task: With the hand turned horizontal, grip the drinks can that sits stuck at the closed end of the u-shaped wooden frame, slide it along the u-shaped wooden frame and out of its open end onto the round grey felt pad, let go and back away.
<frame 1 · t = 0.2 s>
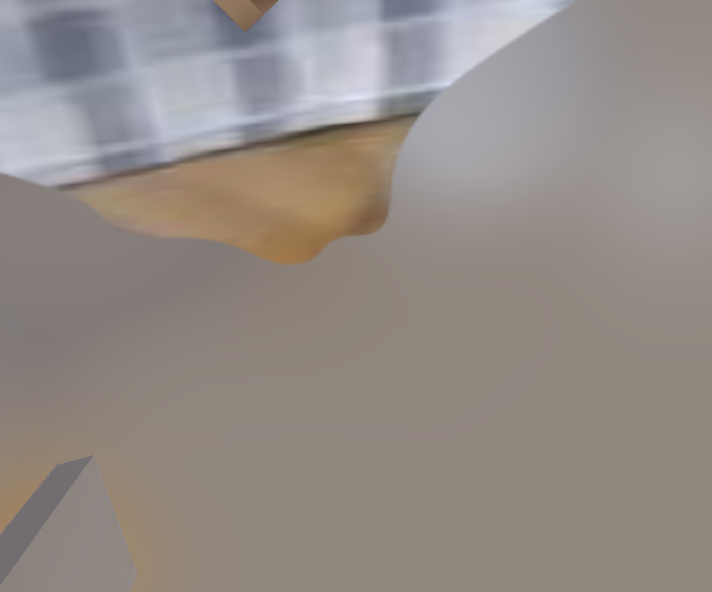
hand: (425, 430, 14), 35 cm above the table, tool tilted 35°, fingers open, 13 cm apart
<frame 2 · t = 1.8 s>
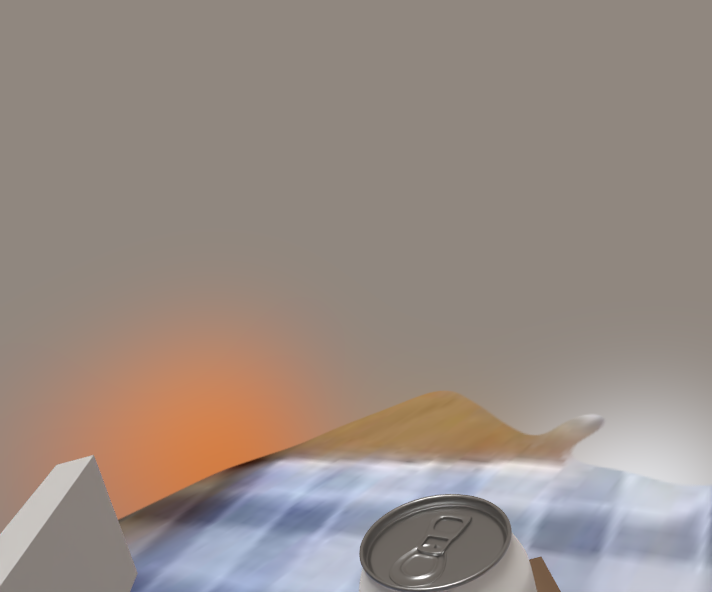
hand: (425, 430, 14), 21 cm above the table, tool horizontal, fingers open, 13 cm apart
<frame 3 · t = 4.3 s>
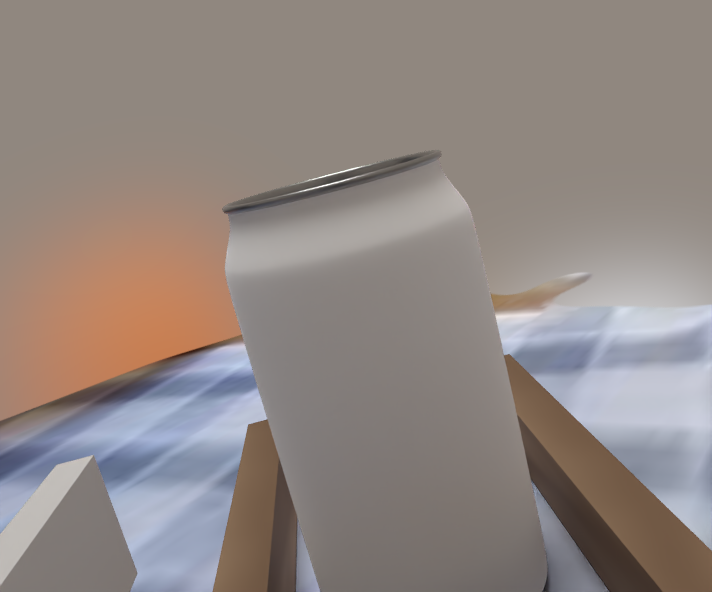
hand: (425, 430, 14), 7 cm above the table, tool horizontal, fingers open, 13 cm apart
can: (438, 591, 20), resting in u-shaped wooden frame
u-shaped wooden frame: (425, 546, 21), on the table
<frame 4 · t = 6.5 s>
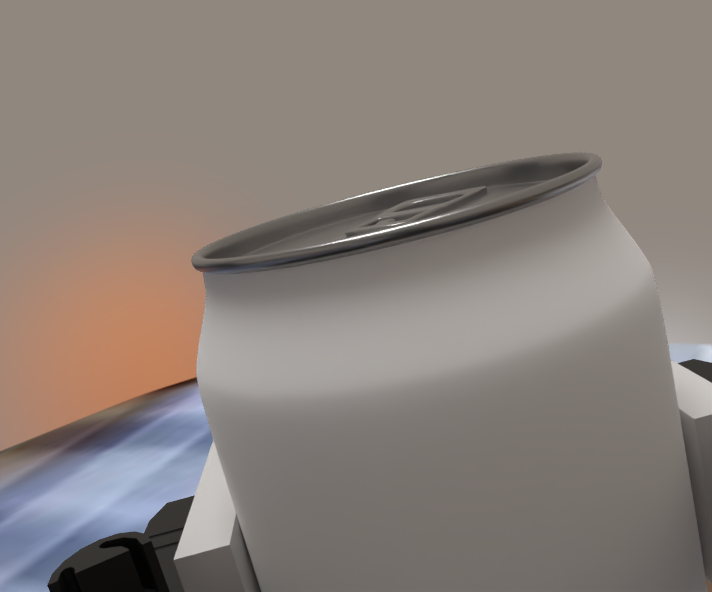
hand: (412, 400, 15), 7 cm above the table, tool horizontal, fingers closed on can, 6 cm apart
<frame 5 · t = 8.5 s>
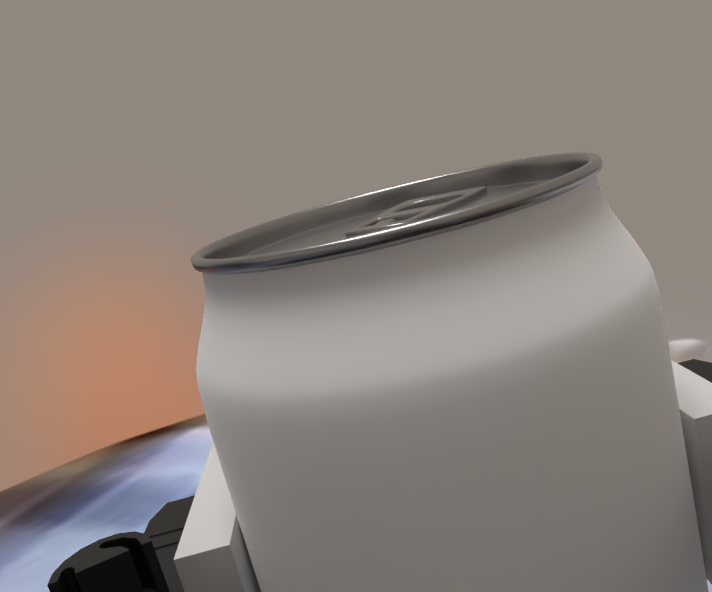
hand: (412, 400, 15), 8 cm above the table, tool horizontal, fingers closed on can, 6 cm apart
when the fingers open (8 cm above the table, at t = 10.8 s): can stays where it is, resting on felt pad.
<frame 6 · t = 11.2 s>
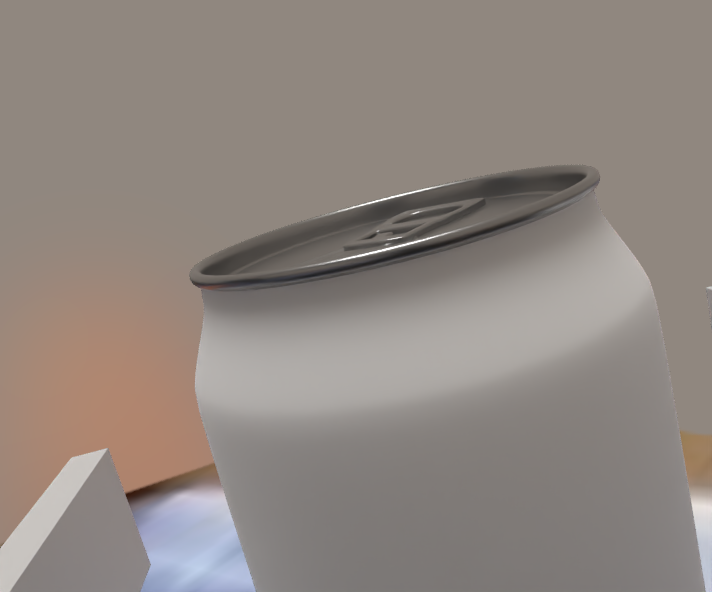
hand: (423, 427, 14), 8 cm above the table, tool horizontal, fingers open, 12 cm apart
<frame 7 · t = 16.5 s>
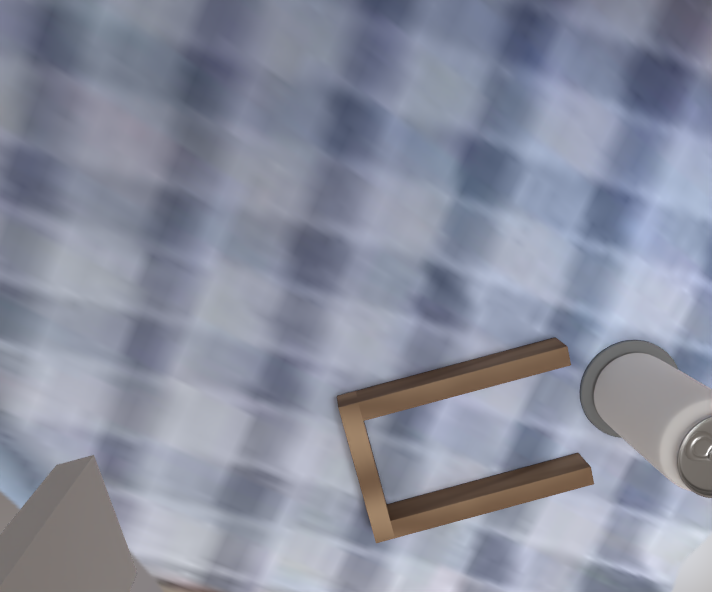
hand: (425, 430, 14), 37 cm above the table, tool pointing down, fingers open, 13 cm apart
felt pad: (629, 388, 54), on the table
can: (629, 389, 53), resting on felt pad
u-shaped wooden frame: (471, 431, 53), on the table
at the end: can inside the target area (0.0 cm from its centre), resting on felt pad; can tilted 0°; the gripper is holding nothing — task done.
